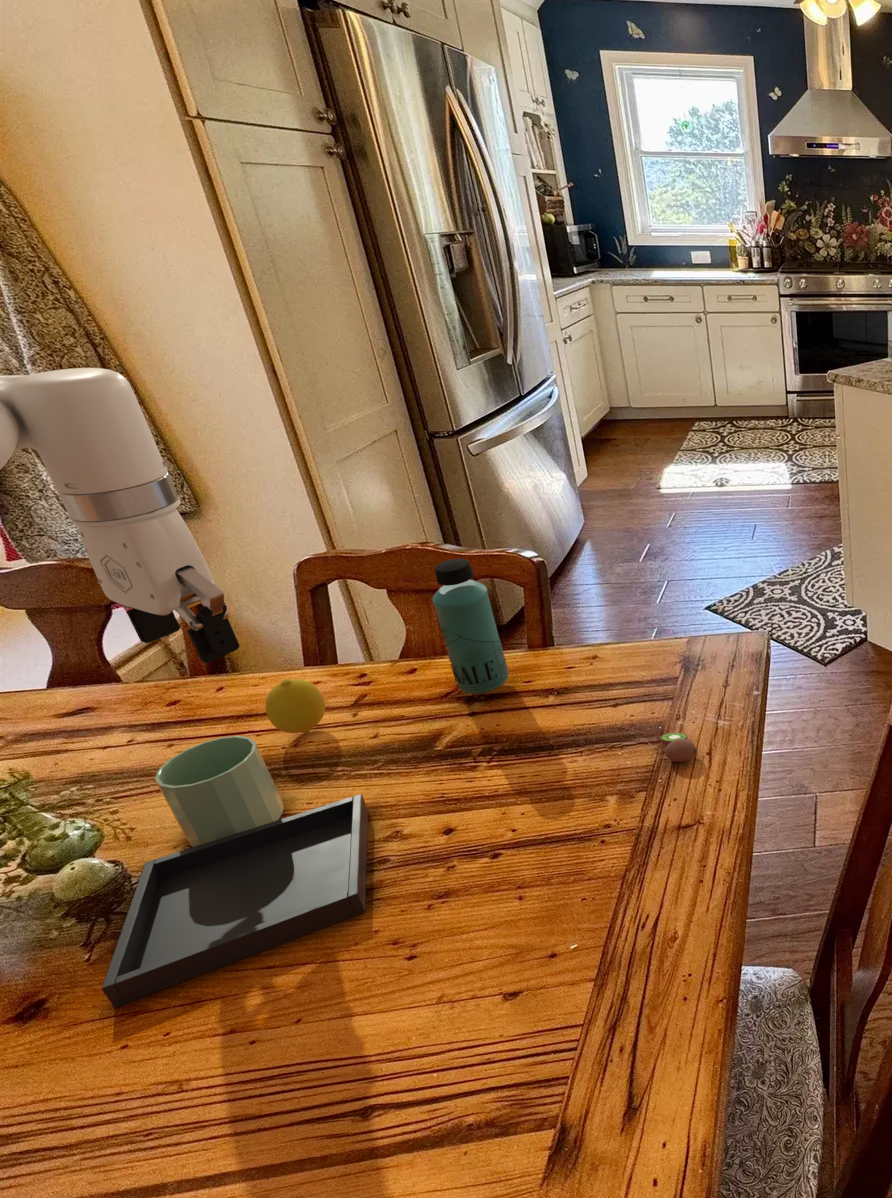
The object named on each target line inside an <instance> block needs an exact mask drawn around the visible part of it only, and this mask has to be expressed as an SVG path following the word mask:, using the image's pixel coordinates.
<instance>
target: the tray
mask: <svg viewBox="0 0 892 1198" xmlns="http://www.w3.org/2000/svg"><path fill="white" fill-rule="evenodd" d="M368 833H369V809H368V806H367V804H366V801H365V798H364V796H363V794H362V793H359V794H357V795H353V796H349V797H347V798H343V799H340V800H337V801H334V802H331V803H327V804H324V805H321V806H318V807H315V808H312V809H308V810H306V811H301V812H300V813H296V814H293V815H289V816H286V817H284V818H281V819H280V818H279V819H278V820H277V821H274V822H271V823H268V824H264V825H261V826H258V827H255V828H252V829H249V830H246V831H242V832H239V833H236V834H233V835H230V836H227V837H224V838H220V839H217V840H214V841H211V842H208V843H205V844H202V845H198V846H195V847H190V848H185V849H183V850H180V851H177V852H173V853H170V854H168V855H164V856H161V857H158V858H155V859H152V860H149V861H146V862H144V864H143V866H142V871H141V873H140V876H139V878H138V881H137V884H136V887H135V890H134V893H133V896H132V898H131V901H130V905H129V908H128V910H127V913H126V917H125V920H124V922H123V925H122V928H121V931H120V934H119V937H118V940H117V941H116V942H117V943H116V945H115V949H114V952H113V955H112V958H111V959H110V960H111V961H110V963H109V966H108V969H107V971H106V975H105V977H104V979H103V984H102V986H101V990H102V992H103V993H104V995H105V996H106V998H107V999H108V1001H109V1002H110V1004H111V1006H112V1007H113V1009H117V1008H120V1007H122V1006H124V1005H127V1004H131V1003H133V1002H135V1001H137V1000H140V999H142V998H146V997H148V996H151V995H153V994H157V993H159V992H161V991H164V990H166V989H169V988H171V987H174V986H176V985H179V984H182V983H184V982H187V981H190V980H192V979H194V978H198V977H200V976H202V975H205V974H207V973H211V972H214V971H215V970H219V969H221V968H223V967H226V966H229V965H232V964H234V963H236V962H239V961H242V960H244V959H247V958H249V957H252V956H255V955H257V954H260V953H263V952H265V951H268V950H270V949H273V948H275V947H278V946H280V945H283V944H286V943H288V942H292V941H293V940H296V939H299V938H302V937H304V936H307V935H309V934H311V933H314V932H317V931H320V930H322V929H325V928H327V927H330V926H333V925H335V924H337V923H340V922H343V921H346V920H348V919H352V918H353V917H357V916H359V915H362V914H364V913H366V907H367V906H366V905H367V904H366V903H367V874H368V873H367V871H368V869H367V867H368V841H369V840H368V837H369V835H368Z"/></svg>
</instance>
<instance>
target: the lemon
mask: <svg viewBox="0 0 892 1198" xmlns="http://www.w3.org/2000/svg"><path fill="white" fill-rule="evenodd" d="M325 712H326V703H325V699H324V695H323V694H322V692H321V690H320V689H319V688H318V687H317V686H316V685H315V684H313V683H312V682H310V681H308V680H305V679H300V678H294V679H292V678H291V679H284V680H282V681H281V682H280V683H277V684H276V685H275V686H274V687H273V688H271V690H270V691H269V692H268V694H267V696H266V699H265V713H266V716H267V719H268V720H269V721H270V723H271V724H272V726H273V727H275V728H276V729H277V730H279V731H281V732H284V733H288V734H299V733H300V734H301V733H304V734H306V733H308V732H310V730H311V729H313V728H314V727H316V726H318V724H319V723H320V722H321V721H322V720H323V718H324V715H325Z"/></svg>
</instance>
